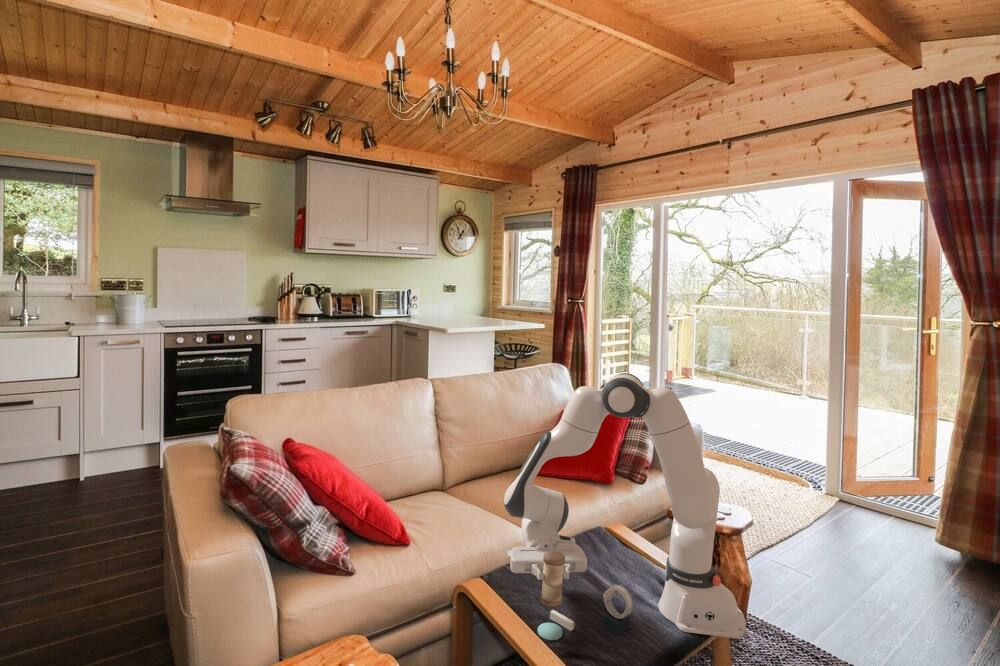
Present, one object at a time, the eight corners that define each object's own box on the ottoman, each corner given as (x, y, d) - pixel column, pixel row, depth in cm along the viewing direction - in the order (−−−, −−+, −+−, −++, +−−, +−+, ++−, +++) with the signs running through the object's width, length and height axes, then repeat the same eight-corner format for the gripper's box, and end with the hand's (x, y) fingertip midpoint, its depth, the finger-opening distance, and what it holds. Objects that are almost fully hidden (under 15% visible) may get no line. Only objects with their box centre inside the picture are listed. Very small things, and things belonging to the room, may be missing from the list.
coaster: (565, 627, 147) (565, 626, 147) (559, 643, 141) (559, 641, 141) (541, 621, 149) (541, 620, 149) (534, 636, 143) (534, 635, 143)
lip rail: (549, 618, 151) (550, 611, 151) (552, 616, 152) (552, 609, 152) (571, 631, 146) (571, 623, 146) (573, 628, 147) (574, 621, 147)
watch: (611, 614, 154) (613, 576, 152) (635, 630, 148) (638, 591, 146) (597, 622, 150) (599, 583, 149) (621, 638, 144) (624, 598, 143)
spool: (564, 597, 146) (567, 553, 144) (559, 609, 141) (562, 564, 139) (543, 592, 148) (546, 549, 146) (538, 604, 143) (541, 559, 141)
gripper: (506, 538, 154) (513, 565, 141) (579, 537, 157) (593, 564, 143) (505, 560, 155) (512, 589, 142) (578, 558, 158) (591, 587, 144)
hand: (553, 577), depth 143 cm, fingers closed on spool, 5 cm apart
